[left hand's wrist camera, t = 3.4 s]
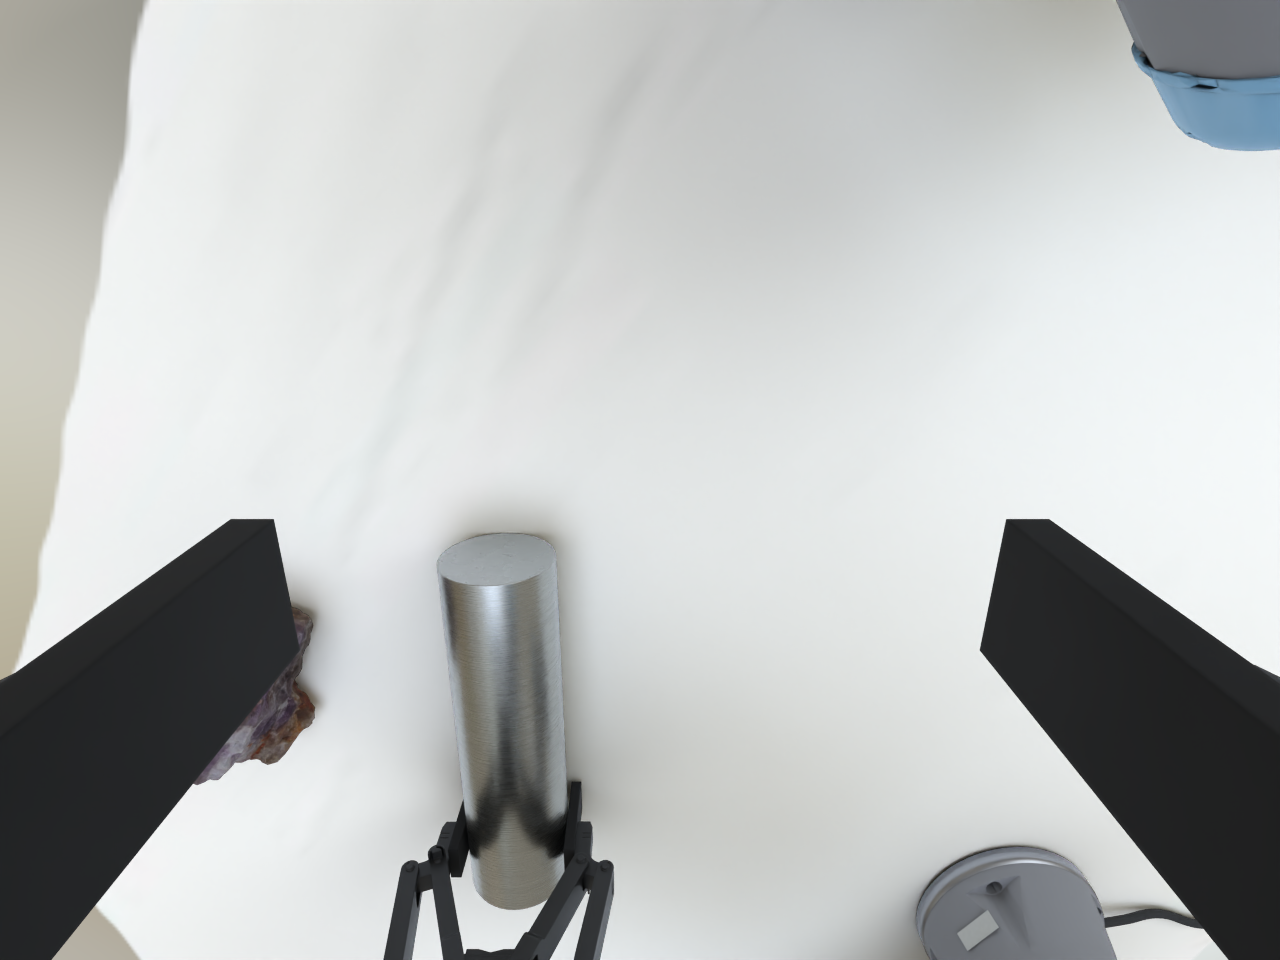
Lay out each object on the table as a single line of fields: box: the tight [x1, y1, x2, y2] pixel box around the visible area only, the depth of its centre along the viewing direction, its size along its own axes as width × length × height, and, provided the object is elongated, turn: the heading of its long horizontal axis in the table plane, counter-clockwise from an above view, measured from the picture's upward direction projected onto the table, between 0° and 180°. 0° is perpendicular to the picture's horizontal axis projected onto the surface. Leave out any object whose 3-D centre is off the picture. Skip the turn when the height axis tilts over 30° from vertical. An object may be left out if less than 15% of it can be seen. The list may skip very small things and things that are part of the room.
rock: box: [193, 607, 315, 785], centre depth 48 cm, size 12×9×10 cm
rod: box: [437, 533, 568, 910], centre depth 50 cm, size 27×8×8 cm, turn 0°
